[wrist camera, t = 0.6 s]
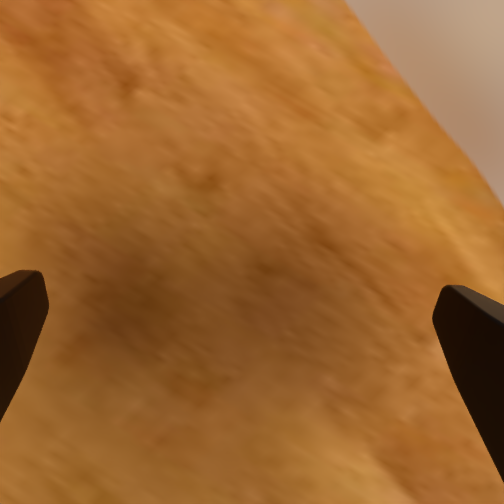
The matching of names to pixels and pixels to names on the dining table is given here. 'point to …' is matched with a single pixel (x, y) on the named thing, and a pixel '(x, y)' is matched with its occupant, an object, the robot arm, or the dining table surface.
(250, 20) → the dining table surface
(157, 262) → the dining table surface
